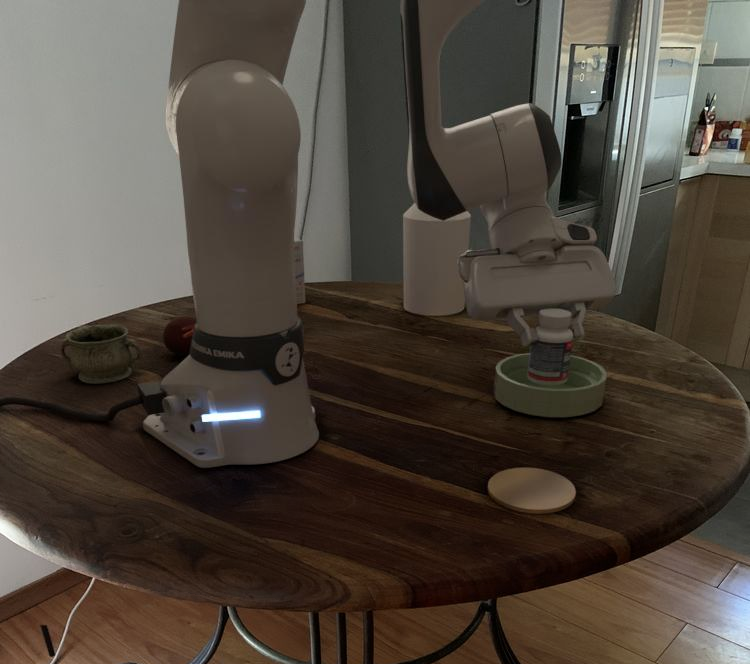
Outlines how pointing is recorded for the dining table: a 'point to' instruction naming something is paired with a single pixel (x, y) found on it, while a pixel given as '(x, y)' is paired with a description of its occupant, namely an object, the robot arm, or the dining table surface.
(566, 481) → the coaster
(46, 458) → the dining table surface
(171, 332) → the red tomato
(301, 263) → the ink box
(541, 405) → the bowl
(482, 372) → the dining table surface
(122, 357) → the vessel
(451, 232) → the bottle
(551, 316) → the pill bottle
